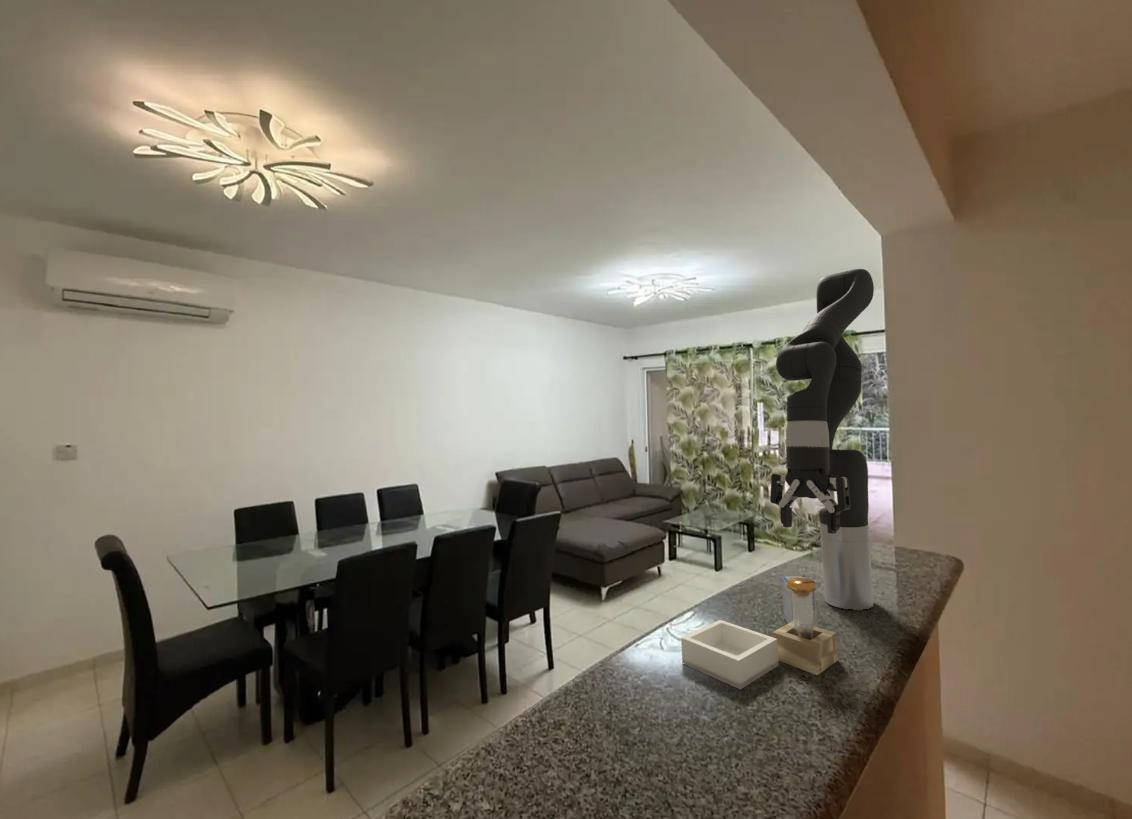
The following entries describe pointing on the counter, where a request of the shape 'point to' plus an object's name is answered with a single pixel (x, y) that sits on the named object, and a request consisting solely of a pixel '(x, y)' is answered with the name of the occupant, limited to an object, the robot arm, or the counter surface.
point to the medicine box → (789, 605)
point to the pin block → (806, 649)
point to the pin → (802, 606)
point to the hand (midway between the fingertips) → (809, 530)
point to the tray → (730, 653)
